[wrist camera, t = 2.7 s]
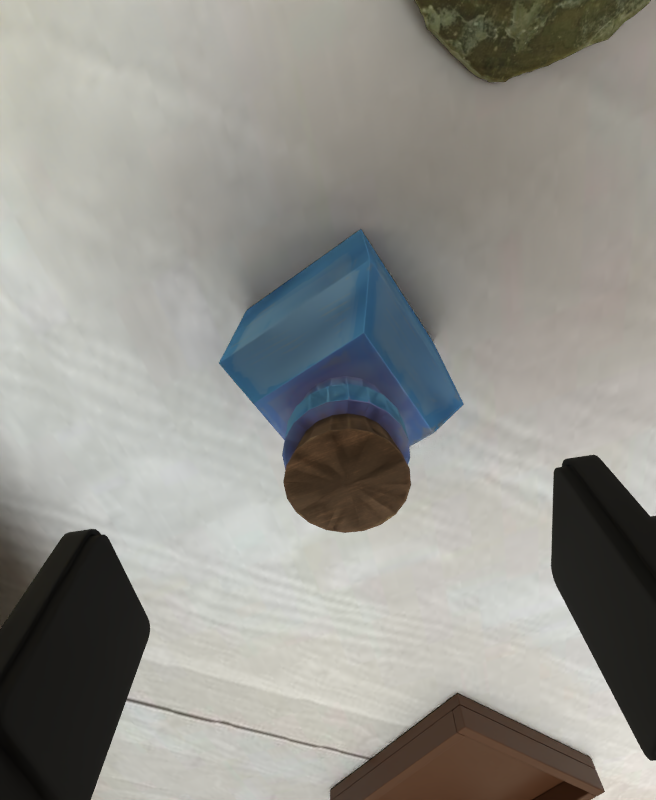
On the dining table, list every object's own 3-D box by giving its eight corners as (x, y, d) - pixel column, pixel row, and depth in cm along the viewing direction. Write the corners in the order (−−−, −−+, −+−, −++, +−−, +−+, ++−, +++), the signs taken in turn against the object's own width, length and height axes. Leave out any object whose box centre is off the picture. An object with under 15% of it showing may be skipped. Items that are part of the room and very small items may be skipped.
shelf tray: (457, 692, 35) (464, 727, 33) (591, 757, 39) (605, 792, 37) (329, 790, 41) (329, 823, 39) (456, 838, 45) (461, 872, 43)
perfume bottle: (360, 229, 21) (387, 316, 11) (433, 343, 24) (515, 509, 13) (246, 310, 23) (169, 456, 12) (324, 409, 25) (317, 605, 15)
